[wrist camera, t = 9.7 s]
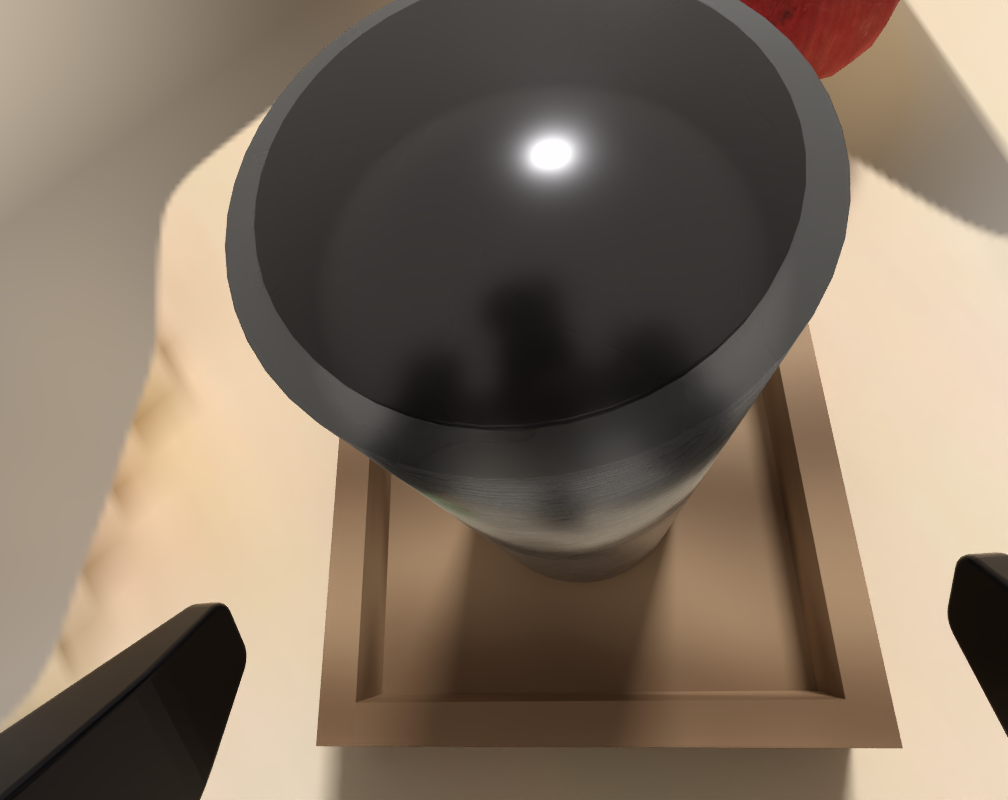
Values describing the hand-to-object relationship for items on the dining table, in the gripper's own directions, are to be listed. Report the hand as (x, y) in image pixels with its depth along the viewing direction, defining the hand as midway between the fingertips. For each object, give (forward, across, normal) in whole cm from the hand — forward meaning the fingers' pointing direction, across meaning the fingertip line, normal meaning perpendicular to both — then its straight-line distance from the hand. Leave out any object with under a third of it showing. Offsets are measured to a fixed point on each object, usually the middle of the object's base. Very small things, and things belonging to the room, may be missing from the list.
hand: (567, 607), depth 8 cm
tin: (+10, 0, +5) cm, 11 cm away
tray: (+11, 0, +5) cm, 12 cm away
